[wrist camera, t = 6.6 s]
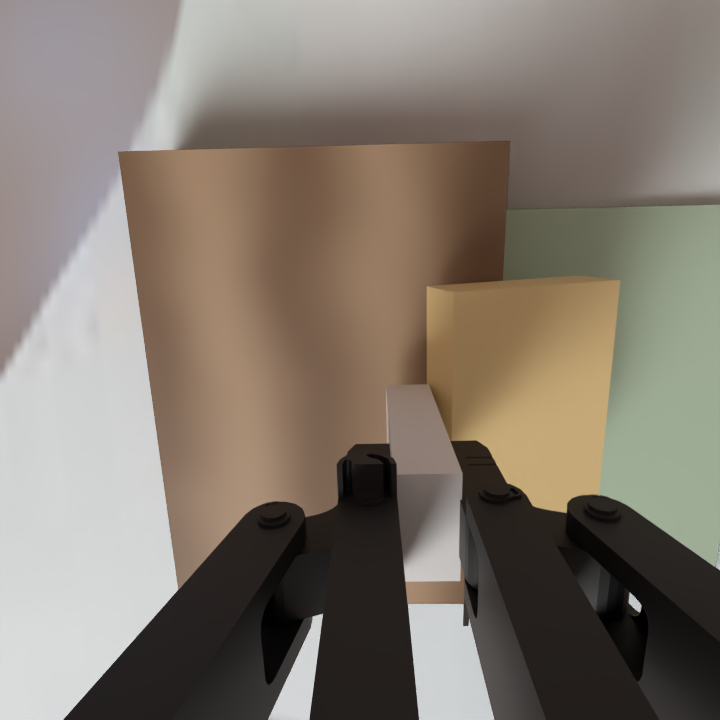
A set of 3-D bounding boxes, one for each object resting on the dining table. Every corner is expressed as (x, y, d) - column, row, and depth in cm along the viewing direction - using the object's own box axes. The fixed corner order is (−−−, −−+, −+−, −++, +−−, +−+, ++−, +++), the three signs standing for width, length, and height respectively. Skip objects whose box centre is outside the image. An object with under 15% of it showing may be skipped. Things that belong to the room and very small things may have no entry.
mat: (774, 203, 20) (785, 203, 19) (704, 577, 24) (711, 584, 24) (480, 210, 20) (483, 210, 20) (466, 578, 25) (468, 585, 24)
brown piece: (482, 159, 20) (510, 140, 16) (467, 544, 24) (485, 603, 20) (167, 167, 20) (117, 151, 16) (210, 545, 24) (180, 604, 21)
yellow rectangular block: (578, 275, 18) (620, 279, 16) (560, 494, 20) (596, 521, 18) (426, 286, 16) (453, 292, 14) (426, 522, 18) (450, 554, 17)
